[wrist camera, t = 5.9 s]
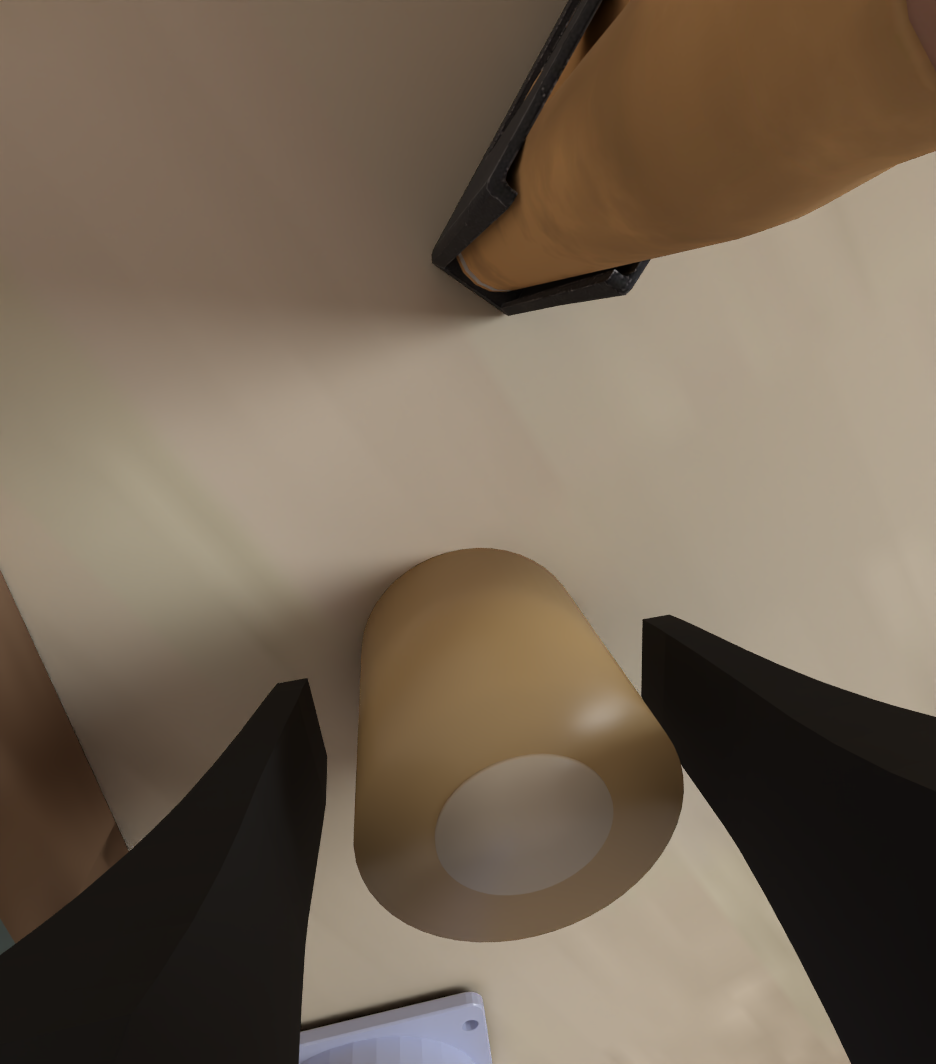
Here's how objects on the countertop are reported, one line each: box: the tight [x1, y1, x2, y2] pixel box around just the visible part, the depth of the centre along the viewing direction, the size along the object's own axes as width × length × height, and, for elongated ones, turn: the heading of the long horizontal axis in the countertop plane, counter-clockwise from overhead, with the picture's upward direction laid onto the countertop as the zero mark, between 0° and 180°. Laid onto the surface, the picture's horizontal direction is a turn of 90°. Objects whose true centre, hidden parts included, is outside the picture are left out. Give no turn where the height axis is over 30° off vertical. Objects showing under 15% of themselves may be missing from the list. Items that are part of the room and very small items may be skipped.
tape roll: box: [354, 548, 684, 942], centre depth 11 cm, size 5×5×5 cm
